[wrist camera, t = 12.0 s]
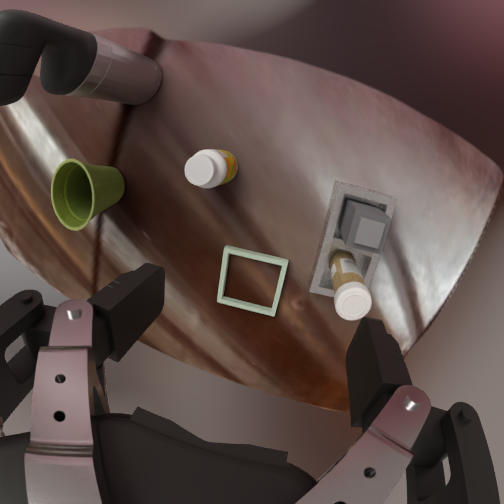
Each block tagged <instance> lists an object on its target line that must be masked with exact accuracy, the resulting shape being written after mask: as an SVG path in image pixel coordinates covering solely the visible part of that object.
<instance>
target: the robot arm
mask: <svg viewBox="0 0 504 504" xmlns="http://www.w3.org/2000/svg"><path fill="white" fill-rule="evenodd" d="M41 54H42V59H41V70H40V79H41V84H42V86H43V88H44V89H45V91H47V92H48V93H51V94H56V95H68V96H78V97H86V98H94V99H101V100H107V101H114V102H119V103H125V104H130V105H140V104H143V103H145V102H147V101H148V100H149V99H151V98H152V97H153V96H154V95H155V93H156V92H157V90H158V88H159V86H160V84H161V80H162V71H161V68H160V66H159V64H158V63H157V62H155V61H154V60H152V59H150V58H148V57H146V56H144V55H142V54H139V53H137V52H135V51H133V50H131V49H128V48H126V47H124V46H122V45H119V44H117V43H115V42H112V41H110V40H107V39H105V38H102V37H99V36H97V35H94V34H91V33H89V32H86V31H83V30H79V29H76V28H73V27H70V26H68V25H64V24H62V23H59V22H56V21H53V20H51V19H48V18H46V17H43V16H40V15H37V14H34V13H30V12H27V11H22V10H4V11H0V106H2V105H8V104H12V103H14V102H17V101H18V100H20V99H21V98H22V97H23V95H24V93H25V92H26V89H27V87H28V85H29V83H30V80H31V78H32V74H33V73H34V70H35V67H36V65H37V63H38V61H39V58H40V56H41ZM164 288H165V270H164V268H163V267H160V266H157V265H153V264H150V263H145V264H143V265H142V266H141V267H139V268H138V269H136V270H135V271H130V272H127V273H124V274H122V275H120V276H119V277H118V278H116V279H115V280H114V282H113V281H112V282H111V283H109V284H108V286H105V287H104V288H103V289H101V290H100V291H99V292H97V293H96V294H95V295H93V296H92V297H91V298H89V299H88V300H87V301H85V300H82V299H71V300H67V301H65V302H63V303H61V304H60V305H59V306H58V307H52V306H48V305H44V304H43V299H42V295H41V293H39V292H38V291H36V290H24V291H21V292H19V293H17V294H15V295H14V296H13V297H12V298H10V299H8V300H7V301H6V302H4V303H3V304H2V305H0V504H383V503H384V501H385V500H386V499H387V497H388V496H389V494H390V493H391V491H392V490H393V488H394V487H395V485H396V484H397V482H398V481H399V479H400V478H401V476H402V474H403V473H404V471H405V470H406V478H407V504H500V500H499V493H498V487H497V482H496V477H495V472H494V467H493V463H492V459H491V456H490V451H489V448H488V444H487V441H486V438H485V434H484V431H483V428H482V425H481V422H480V419H479V416H478V414H477V412H476V411H475V409H474V408H473V407H472V406H470V405H469V404H467V403H464V402H457V403H455V404H453V405H452V407H451V408H450V409H449V410H448V411H444V410H442V409H438V408H435V407H432V406H431V402H430V399H429V397H428V396H427V395H426V393H425V392H424V391H423V390H421V389H419V388H418V387H415V386H413V385H412V382H411V379H410V376H409V373H408V370H407V367H406V364H405V362H404V358H403V355H402V354H401V350H400V347H399V344H398V342H397V341H396V340H395V339H394V338H393V337H392V335H391V334H387V332H386V329H385V326H384V324H383V321H382V320H379V319H373V318H368V317H363V318H362V320H361V321H360V324H359V326H358V328H357V330H356V332H355V335H354V337H353V339H352V341H351V343H350V345H349V348H348V350H347V354H346V370H347V379H348V390H349V402H350V414H351V415H350V416H351V427H362V430H363V431H362V432H363V433H362V434H361V435H360V436H359V437H358V439H357V440H356V441H355V442H354V443H353V444H352V445H351V446H350V448H349V449H348V450H347V451H346V452H345V453H344V454H343V455H342V456H341V457H340V459H338V460H337V462H336V463H335V464H334V465H333V466H332V467H331V468H330V469H329V470H328V471H326V473H325V474H324V475H322V476H321V477H320V478H319V479H318V480H317V481H316V480H315V479H314V478H313V477H312V476H310V475H309V474H308V473H307V472H305V471H304V470H302V469H300V468H299V467H297V466H295V465H293V464H291V463H288V462H286V461H287V455H288V452H285V451H279V450H274V449H268V448H263V447H259V446H254V445H250V444H225V443H212V442H207V441H204V440H202V439H200V438H199V437H197V436H195V435H194V434H192V433H190V432H188V431H187V430H185V429H183V428H182V427H180V426H179V425H177V424H176V423H174V422H173V421H171V420H168V419H166V418H163V417H161V416H158V415H156V414H154V413H151V412H149V411H146V410H144V409H142V408H140V407H137V408H136V410H135V411H134V413H133V414H132V415H130V414H122V413H111V412H110V408H109V403H108V396H107V387H106V377H105V366H104V361H105V359H107V358H110V359H112V360H114V361H116V362H119V361H120V360H121V358H122V357H123V356H124V355H125V354H126V353H127V351H128V350H129V349H130V348H131V347H132V346H133V344H134V343H135V342H136V341H137V340H138V339H139V337H140V336H141V335H142V334H143V333H144V332H145V330H146V329H147V328H148V327H149V326H150V325H151V324H152V322H153V321H154V320H155V319H156V318H157V317H158V316H159V314H160V313H161V311H162V309H163V305H164ZM20 335H21V336H22V338H23V341H24V344H25V346H24V347H23V348H22V349H21V350H20V351H19V352H18V353H17V354H16V355H15V356H14V357H13V358H12V359H11V360H10V361H9V362H8V363H6V360H5V356H4V354H5V350H6V348H7V347H8V346H9V345H10V344H11V343H12V342H13V341H14V340H16V339H17V338H18V337H19V336H20ZM33 387H34V388H33ZM32 388H33V398H32V411H31V432H26V433H21V434H15V435H10V436H5V434H4V432H3V431H2V429H3V423H4V422H5V421H6V420H7V418H8V417H9V416H10V414H11V413H12V412H13V411H14V410H15V408H16V407H17V406H18V405H19V403H20V402H21V401H22V400H23V399H24V398H25V396H26V395H27V394H28V393H29V392H30V391H31V389H32ZM447 456H448V459H449V465H450V471H451V477H450V480H449V482H448V484H447V486H446V484H445V477H444V469H443V463H442V461H443V460H444V459H445V458H446V457H447Z"/></svg>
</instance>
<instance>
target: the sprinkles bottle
mask: <svg viewBox="0 0 504 504" xmlns="http://www.w3.org/2000/svg"><path fill="white" fill-rule="evenodd" d="M329 269H330V271H331V278H332V284H333V289H334V293H335V296H334V304H335V309H336V312H337V314H338V315H339V316H340V317H341V318H343V319H346V320H358V319H360V318H362V317H364V316H365V315H366V314H367V313H368V312H369V310H370V308H371V305H372V299H371V295H370V293H369V290H368V288H367V287H366V286H365V283H364V280H363V277H362V275H361V272H360V270H359V268H358V266H357V264H356V260H355V258H354V256H353V255H352V254H351V253H349V252H346V251H339V252H337V253H335V254H333V255H332V257H331V259H330V261H329Z"/></svg>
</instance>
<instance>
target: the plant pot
mask: <svg viewBox="0 0 504 504" xmlns="http://www.w3.org/2000/svg"><path fill="white" fill-rule="evenodd" d="M124 187H125V185H124V179H123V176H122V175H121V173H120V172H119V171H118V169H116V168H114V167H108V166H98V165H89V164H86V163H81V162H80V161H78V160H76V159H67V160H65V161H63V162H62V163H61V164H60V165H59V166H58V168H57V169H56V171H55V173H54V176H53V179H52V185H51V199H52V204H53V208H54V211H55V213H56V215H57V217H58V219H59V220H60V222H61V223H62V224H63V225H64V226H65V227H67V228H68V229H71V230H81V229H83V228H84V227H85V226H86V225H87V224H88V223H89V221H90V220H91V219H92V218H93V217H94V216H95V215H97V214H99V213H100V212H102V211H103V210H105V209H107V208H108V207H110V206H112V205H113V204H115V203H116V202H118V201H119V200H120V198H121V197H122V196H123V193H124Z"/></svg>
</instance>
